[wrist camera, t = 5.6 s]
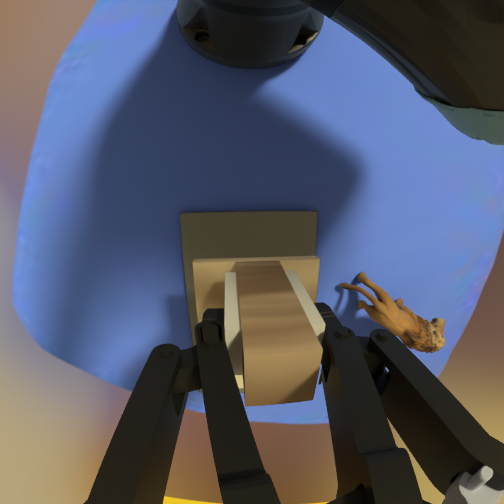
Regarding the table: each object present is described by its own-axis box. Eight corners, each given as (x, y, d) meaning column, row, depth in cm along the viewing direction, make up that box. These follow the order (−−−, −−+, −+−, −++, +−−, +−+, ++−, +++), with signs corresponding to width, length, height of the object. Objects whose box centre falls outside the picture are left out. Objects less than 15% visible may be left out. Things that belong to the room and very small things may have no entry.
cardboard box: (193, 258, 20) (163, 356, 9) (316, 255, 20) (388, 339, 10) (200, 329, 21) (187, 440, 11) (309, 323, 22) (357, 424, 12)
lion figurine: (422, 298, 34) (459, 330, 25) (403, 329, 35) (435, 365, 27) (347, 264, 31) (384, 300, 22) (326, 302, 32) (354, 346, 24)
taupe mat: (180, 212, 27) (179, 213, 27) (315, 210, 29) (317, 211, 28) (201, 390, 35) (200, 393, 35) (298, 385, 36) (299, 388, 36)
